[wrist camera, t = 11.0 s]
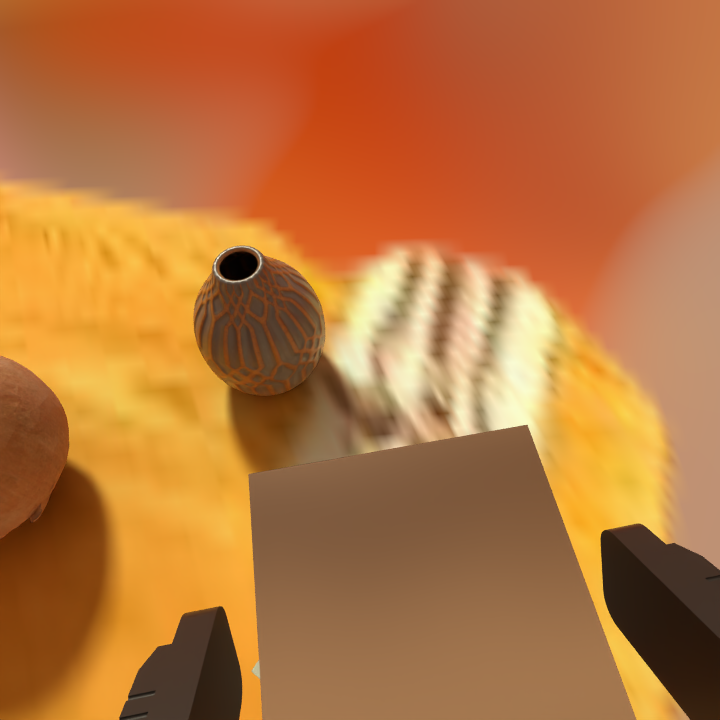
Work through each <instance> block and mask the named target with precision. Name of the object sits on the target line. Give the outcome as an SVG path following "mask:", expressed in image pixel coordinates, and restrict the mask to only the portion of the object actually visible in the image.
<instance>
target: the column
mask: <svg viewBox="0 0 720 720" xmlns="http://www.w3.org/2000/svg"><path fill="white" fill-rule="evenodd" d="M249 491H250V508H251V526H252V543H253V561H254V578H255V596H256V613H257V631H258V648H259V666H260V683H261V701H262V718H263V720H636V717H635V715H634V712H633V709H632V706H631V704H630V701H629V698H628V696H627V693H626V690H625V688H624V685H623V682H622V679H621V677H620V674H619V671H618V669H617V666H616V663H615V661H614V658H613V655H612V652H611V650H610V647H609V644H608V642H607V639H606V636H605V633H604V631H603V628H602V625H601V623H600V620H599V617H598V615H597V612H596V609H595V606H594V604H593V601H592V598H591V596H590V593H589V590H588V588H587V585H586V582H585V579H584V577H583V574H582V571H581V569H580V566H579V563H578V561H577V558H576V555H575V552H574V550H573V547H572V544H571V542H570V539H569V536H568V533H567V531H566V528H565V525H564V523H563V520H562V517H561V515H560V512H559V509H558V506H557V504H556V501H555V498H554V496H553V493H552V490H551V488H550V485H549V482H548V479H547V477H546V474H545V471H544V469H543V466H542V463H541V460H540V458H539V455H538V452H537V450H536V447H535V444H534V442H533V439H532V436H531V433H530V431H529V428H528V425H523V426H518V427H512V428H506V429H501V430H495V431H489V432H484V433H478V434H472V435H467V436H461V437H455V438H450V439H444V440H439V441H433V442H427V443H422V444H416V445H410V446H405V447H399V448H393V449H388V450H382V451H376V452H371V453H365V454H359V455H354V456H348V457H343V458H337V459H331V460H326V461H320V462H314V463H309V464H303V465H297V466H292V467H286V468H280V469H275V470H269V471H263V472H258V473H252V474H249Z"/></svg>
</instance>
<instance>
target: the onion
mask: <svg viewBox="0 0 720 720" xmlns="http://www.w3.org/2000/svg"><path fill="white" fill-rule="evenodd" d="M68 450H69V428H68V422H67V417H66V414H65V411H64V409H63V407H62V405H61V403H60V401H59V400H58V398H57V397H56V395H55V394H54V392H53V391H52V390H51V389H50V388H49V387H48V386H47V385H46V384H45V383H44V382H43V381H42V380H40V379H39V378H38V377H37V376H36V375H35V374H34V373H33V372H31V371H30V370H28V369H27V368H25V367H24V366H22V365H20V364H19V363H17V362H15V361H13V360H11V359H8V358H6V357H3V356H0V539H1V538H3V537H5V536H6V535H7V534H8V533H9V532H10V531H12V530H13V529H15V528H17V527H19V525H20V524H22V523H23V522H24V521H26V520H27V519H29V520H30V522H31V523H33V522H34V521H36V520H37V519H38V518H39V517H40V516H41V515H42V512H43V510H44V509H45V507H46V505H47V503H48V501H49V498H50V495H51V492H52V491H53V489H54V488H55V485H56V483H57V481H58V480H59V477H60V475H61V473H62V471H63V469H64V466H65V464H66V462H67V456H68Z"/></svg>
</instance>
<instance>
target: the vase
mask: <svg viewBox="0 0 720 720" xmlns="http://www.w3.org/2000/svg"><path fill="white" fill-rule="evenodd" d="M194 332H195V337H196V341H197V344H198V347H199V350H200V352H201V354H202V356H203V358H204V359H205V361H206V362H207V364H208V365H209V367H210V368H211V369H212V371H213V372H214V373H215V374H216V375H217V376H218V377H219V378H220V379H221V380H223V381H224V382H225V383H227V384H228V385H230V386H231V387H233V388H235V389H237V390H239V391H242V392H244V393H248V394H252V395H259V396H270V395H276V394H280V393H284V392H286V391H289V390H291V389H293V388H295V387H296V386H298V385H299V384H301V383H302V382H303V381H304V380H305V379H306V378H307V377H308V376H309V375H310V374H311V373H312V371H313V370H314V369H315V367H316V365H317V364H318V362H319V359H320V357H321V354H322V351H323V347H324V342H325V322H324V315H323V311H322V307H321V304H320V302H319V300H318V297H317V295H316V294H315V292H314V290H313V289H312V287H311V286H310V284H309V283H308V282H307V281H306V279H305V278H304V277H303V276H302V275H301V274H300V273H299V272H297V271H296V270H295V269H294V268H292V267H291V266H289V265H287V264H286V263H284V262H281V261H279V260H276V259H273V258H270V257H267V256H264V255H263V254H262V253H261V252H259V251H258V250H257V249H255V248H253V247H249V246H235V247H231V248H229V249H227V250H225V251H223V252H222V253H221V254H220V255H219V256H218V257H217V258H216V259H215V261H214V264H213V267H212V273H211V274H210V276H209V277H208V278H207V280H206V281H205V283H204V284H203V286H202V288H201V289H200V291H199V294H198V296H197V299H196V303H195V308H194Z"/></svg>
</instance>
